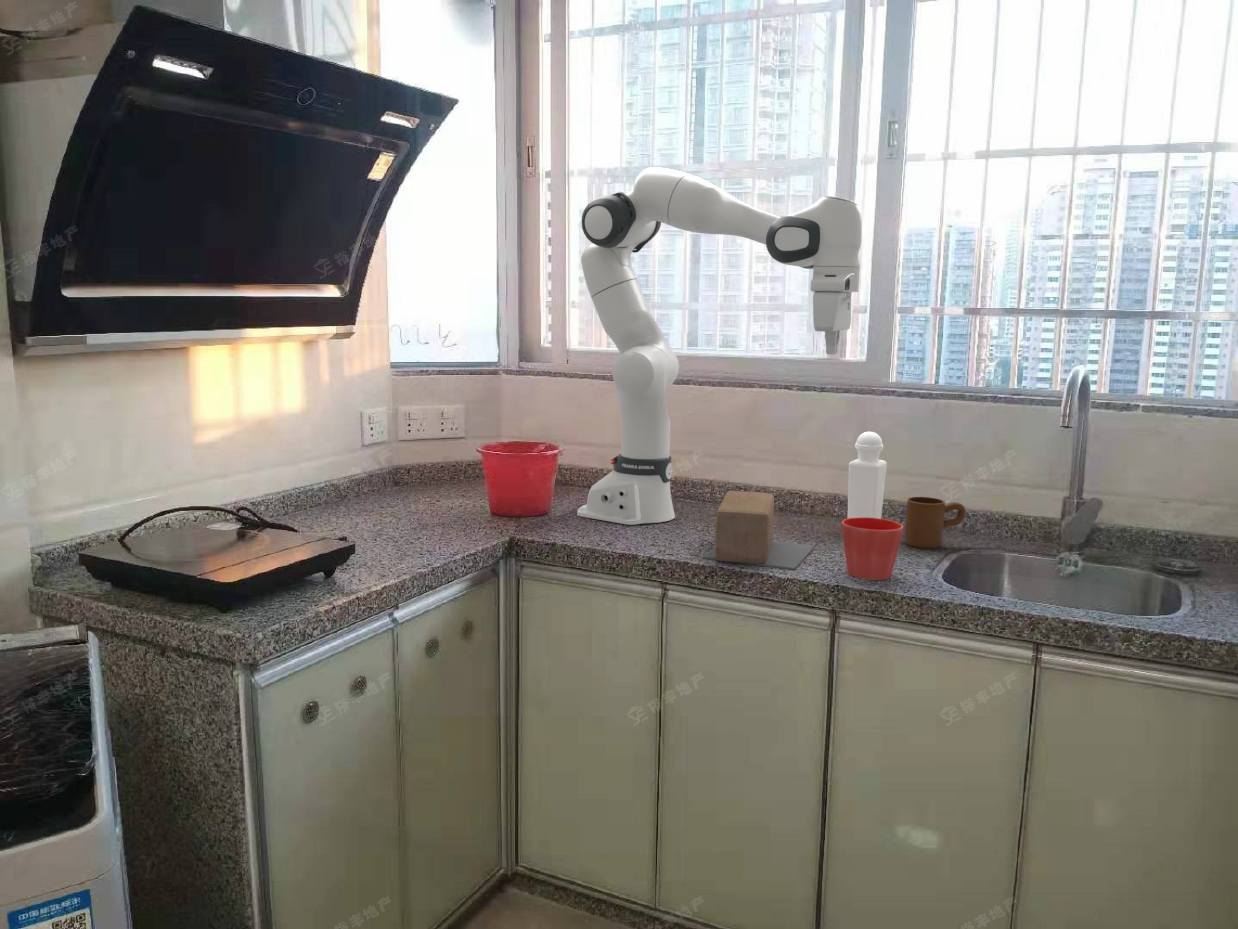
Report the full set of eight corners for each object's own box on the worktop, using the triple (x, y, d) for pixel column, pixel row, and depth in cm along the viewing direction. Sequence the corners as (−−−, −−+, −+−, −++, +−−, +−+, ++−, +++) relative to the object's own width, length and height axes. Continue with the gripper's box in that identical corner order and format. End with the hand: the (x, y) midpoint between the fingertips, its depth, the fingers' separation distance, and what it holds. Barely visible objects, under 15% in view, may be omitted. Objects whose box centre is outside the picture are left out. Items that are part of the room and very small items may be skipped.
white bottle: (873, 536, 203) (880, 434, 199) (844, 532, 206) (850, 431, 202) (882, 530, 208) (889, 431, 204) (853, 526, 211) (859, 428, 208)
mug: (957, 541, 200) (960, 497, 199) (968, 550, 193) (972, 505, 191) (899, 539, 201) (902, 495, 199) (908, 548, 193) (912, 503, 192)
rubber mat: (702, 558, 183) (702, 556, 183) (728, 537, 200) (729, 535, 200) (794, 570, 177) (794, 568, 177) (814, 547, 193) (814, 545, 193)
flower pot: (854, 562, 182) (857, 513, 181) (909, 574, 175) (912, 523, 174) (828, 574, 174) (831, 523, 173) (884, 587, 167) (888, 533, 166)
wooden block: (769, 513, 176) (774, 492, 195) (715, 510, 178) (726, 489, 198) (766, 565, 178) (772, 539, 197) (713, 561, 180) (724, 536, 199)
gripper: (829, 283, 195) (825, 351, 198) (808, 281, 177) (804, 355, 179) (860, 283, 193) (856, 352, 195) (842, 281, 174) (838, 357, 177)
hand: (831, 354), depth 187 cm, fingers closed
